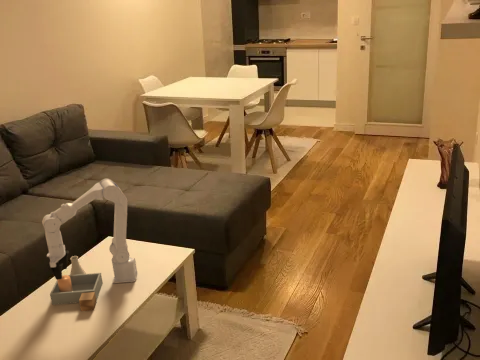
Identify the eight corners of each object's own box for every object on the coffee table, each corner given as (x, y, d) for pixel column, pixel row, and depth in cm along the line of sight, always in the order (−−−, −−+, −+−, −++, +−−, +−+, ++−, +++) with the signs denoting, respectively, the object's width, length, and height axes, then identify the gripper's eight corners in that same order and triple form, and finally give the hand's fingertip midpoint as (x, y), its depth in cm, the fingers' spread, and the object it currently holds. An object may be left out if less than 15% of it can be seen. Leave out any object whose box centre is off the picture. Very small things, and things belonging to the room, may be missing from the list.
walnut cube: (96, 302, 206) (94, 292, 204) (94, 310, 201) (92, 299, 200) (84, 303, 206) (82, 293, 204) (81, 311, 201) (78, 300, 199)
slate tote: (102, 283, 219) (100, 272, 217) (96, 301, 207) (94, 290, 205) (61, 286, 219) (58, 276, 217) (52, 304, 206) (49, 294, 204)
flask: (81, 283, 220) (77, 262, 217) (66, 282, 222) (61, 261, 218) (89, 274, 227) (85, 253, 223) (74, 273, 228) (70, 253, 225)
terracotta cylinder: (65, 288, 215) (62, 274, 213) (75, 290, 214) (72, 276, 211) (57, 295, 211) (54, 280, 208) (67, 297, 209) (64, 282, 207)
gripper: (50, 236, 211) (56, 265, 216) (39, 253, 197) (46, 284, 202) (67, 234, 211) (73, 263, 216) (58, 252, 197) (64, 283, 202)
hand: (61, 273), depth 209 cm, fingers open, 7 cm apart
